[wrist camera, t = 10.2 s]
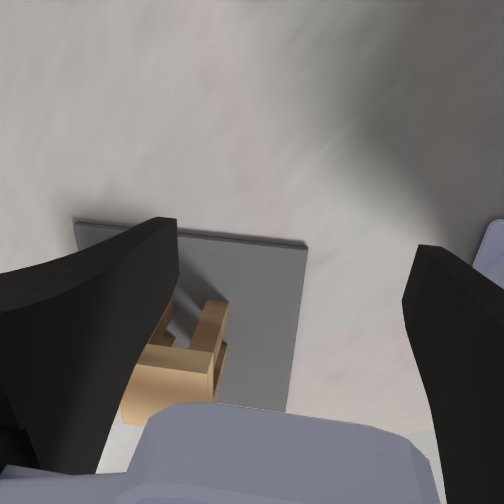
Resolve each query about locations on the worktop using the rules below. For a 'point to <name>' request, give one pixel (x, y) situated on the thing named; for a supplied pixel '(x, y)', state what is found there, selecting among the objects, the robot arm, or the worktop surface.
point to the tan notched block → (178, 366)
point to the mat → (236, 308)
